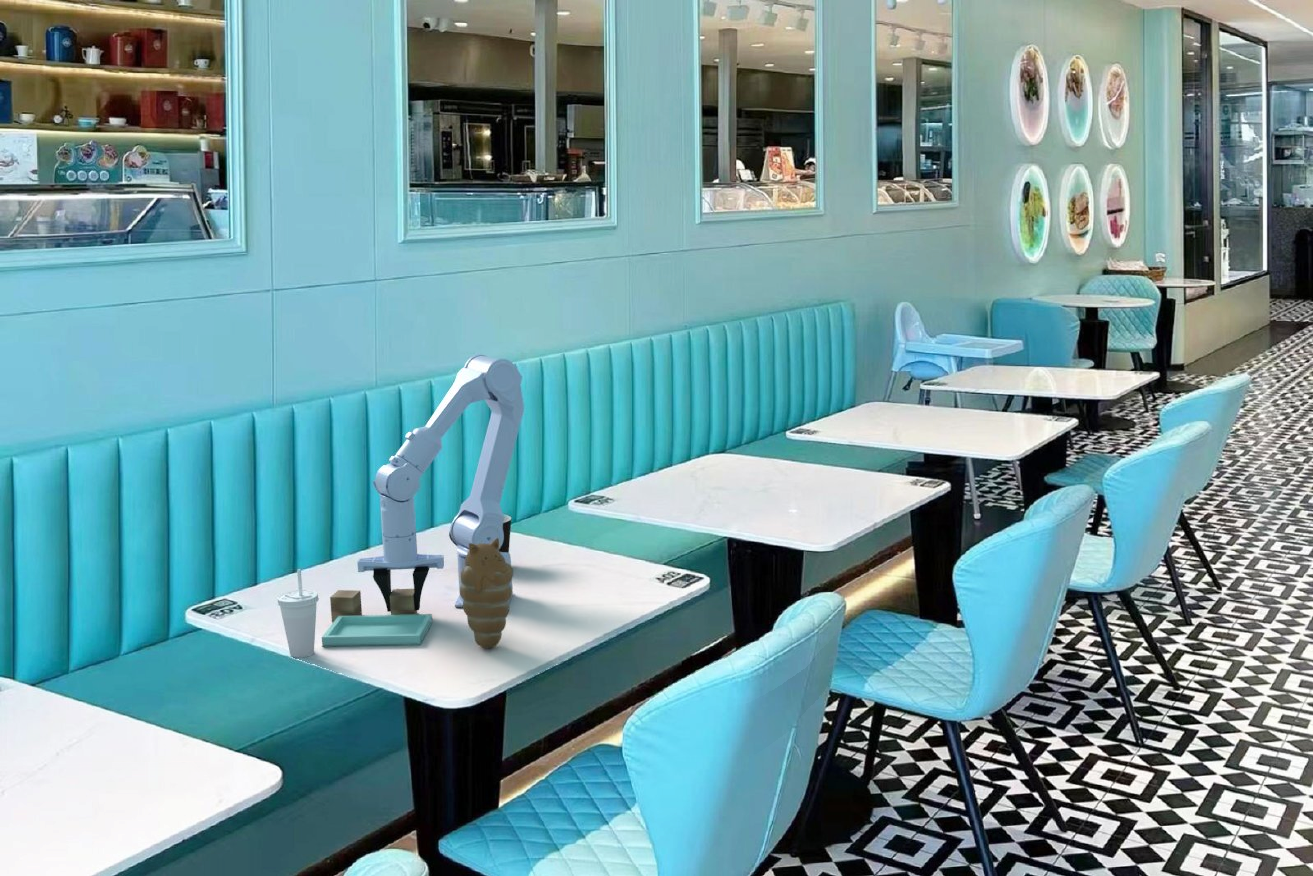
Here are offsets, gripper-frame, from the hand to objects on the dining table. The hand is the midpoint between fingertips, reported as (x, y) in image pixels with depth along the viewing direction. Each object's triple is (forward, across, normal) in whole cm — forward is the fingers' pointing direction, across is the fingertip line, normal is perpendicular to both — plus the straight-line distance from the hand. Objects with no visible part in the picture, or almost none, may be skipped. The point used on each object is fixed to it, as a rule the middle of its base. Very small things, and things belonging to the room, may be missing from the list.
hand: (403, 609), depth 228 cm
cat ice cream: (+2, -15, +18) cm, 24 cm away
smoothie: (+2, +15, +16) cm, 22 cm away
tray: (+1, +3, +9) cm, 9 cm away
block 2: (+1, 0, 0) cm, 1 cm away
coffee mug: (+2, -13, -28) cm, 31 cm away
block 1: (+2, +10, -1) cm, 10 cm away
